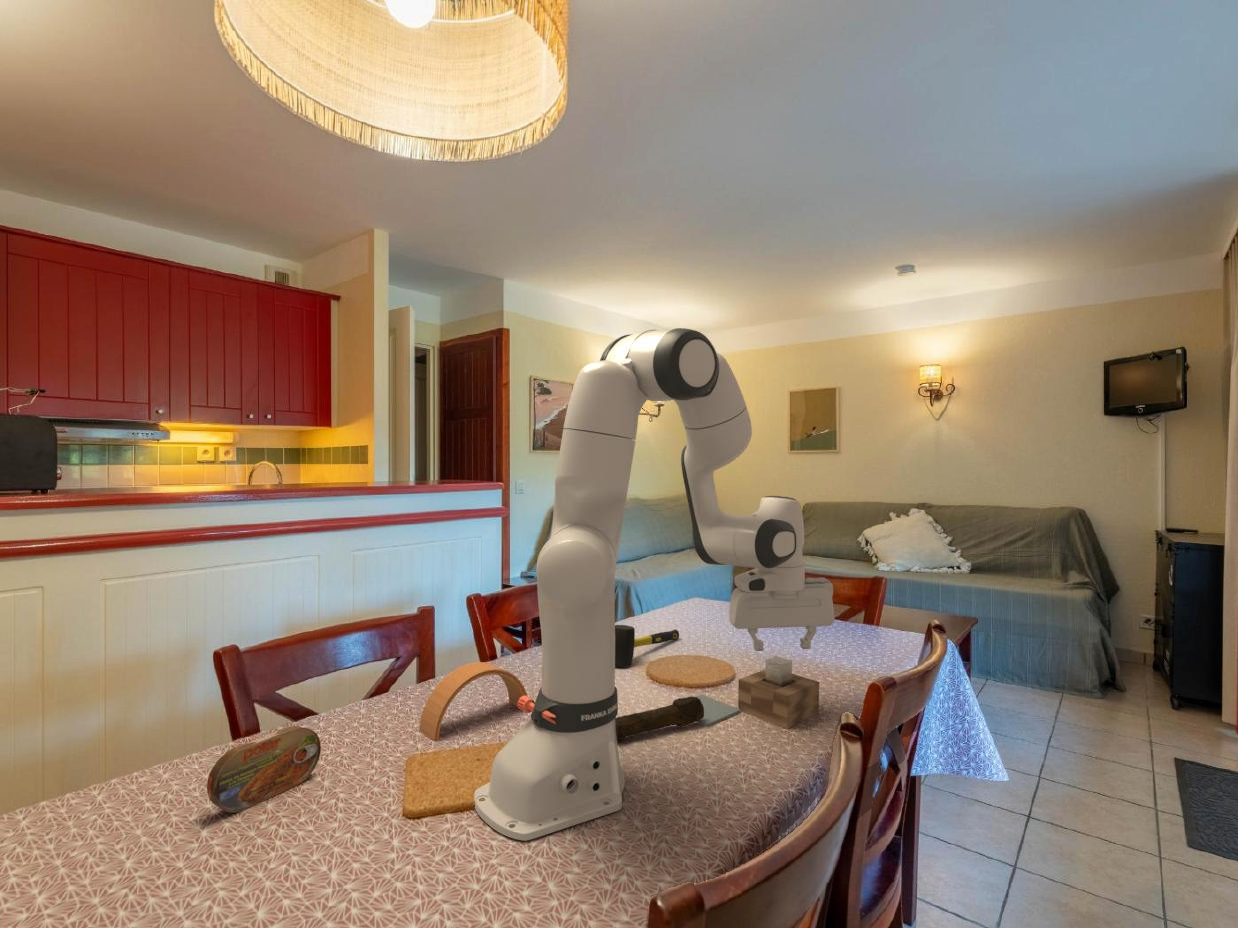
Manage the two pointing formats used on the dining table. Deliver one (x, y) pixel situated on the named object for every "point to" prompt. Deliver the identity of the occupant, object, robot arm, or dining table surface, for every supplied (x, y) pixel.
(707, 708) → the pad
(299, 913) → the dining table surface
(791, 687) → the block with square hole
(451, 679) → the arch
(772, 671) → the gray rectangular block
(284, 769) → the tin
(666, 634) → the mallet
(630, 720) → the hand tool
